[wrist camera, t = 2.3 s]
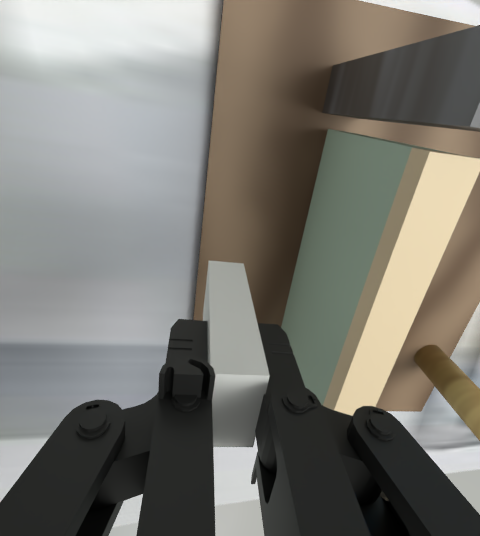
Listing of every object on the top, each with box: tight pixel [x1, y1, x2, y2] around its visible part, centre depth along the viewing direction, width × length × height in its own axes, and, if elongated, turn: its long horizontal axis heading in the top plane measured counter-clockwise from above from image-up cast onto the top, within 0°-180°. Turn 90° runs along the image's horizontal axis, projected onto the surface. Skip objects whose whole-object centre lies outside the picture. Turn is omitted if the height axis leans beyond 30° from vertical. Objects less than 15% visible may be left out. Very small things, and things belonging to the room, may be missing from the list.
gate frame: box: [193, 0, 480, 441], centre depth 19 cm, size 23×30×13 cm
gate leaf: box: [281, 129, 480, 416], centre depth 19 cm, size 2×18×10 cm, turn 172°
